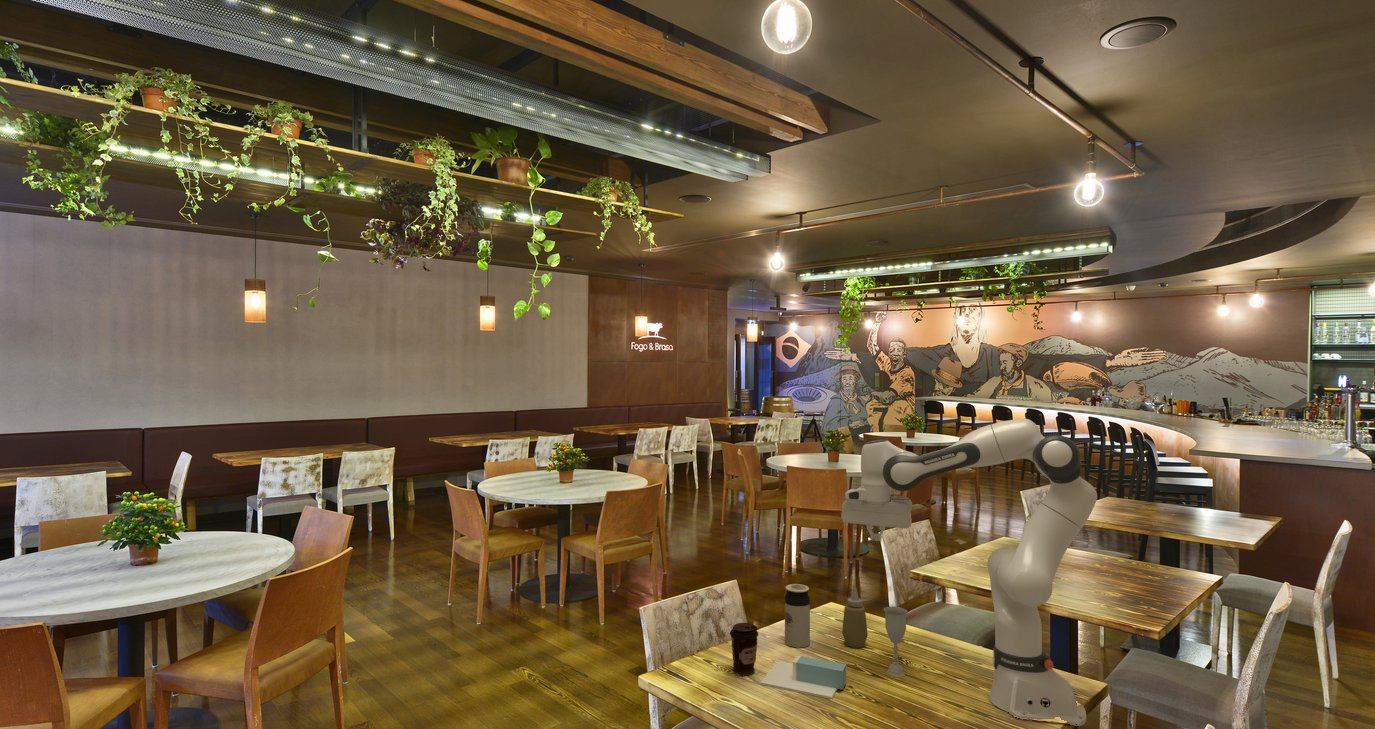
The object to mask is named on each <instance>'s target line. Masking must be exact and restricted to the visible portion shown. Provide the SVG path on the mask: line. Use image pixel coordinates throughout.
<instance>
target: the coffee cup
mask: <svg viewBox="0 0 1375 729" xmlns="http://www.w3.org/2000/svg"><path fill="white" fill-rule="evenodd" d="M758 629H759V628H758V627H757V625H756V624H752V623H751V622H750V623H749V622H738V623H736V624H734V625H733V626H732V628H731V629H730V632H729V635H730V640H731V649H732V651H731V652H732V653H731V654H732V661H733V662H732V663H733V668H732V670H733V672H734V674H736V675H738V676H750V675H752V674H754V673H755V670H756V669H755V663H756V660H757V650H758V637H759V632H758Z"/></svg>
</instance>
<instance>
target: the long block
mask: <svg viewBox="0 0 1375 729" xmlns="http://www.w3.org/2000/svg"><path fill="white" fill-rule="evenodd" d="M792 664H793V680H796V681H802V682H807V683H812V684H817V685H822V686H827V687H832V688H837V690H843V689H844V688H845V686H846V684H847V663H842V662H835V661H831V660H825V659H819V658H814V657H810V656H809V657H808V656H803V655H797V656H796V657H795V658H794V660H793V661H792Z"/></svg>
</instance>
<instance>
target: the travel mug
mask: <svg viewBox="0 0 1375 729" xmlns="http://www.w3.org/2000/svg"><path fill="white" fill-rule="evenodd" d="M785 590H786V594H785V596H784V643H785V645H787V646H789V647H791V646H792V648H796V647H799V648H800V649H801V648H805V647H808V646H810V645H811V635H810V634H811V628H810V627H811V614H810V613H811V606H810V605H811V597H810V596H809V590H810V588H809V586H808V585H804V584H801V583H800V584H799V583H791V584H787V585H786V586H785ZM799 648H798V649H799Z"/></svg>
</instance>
